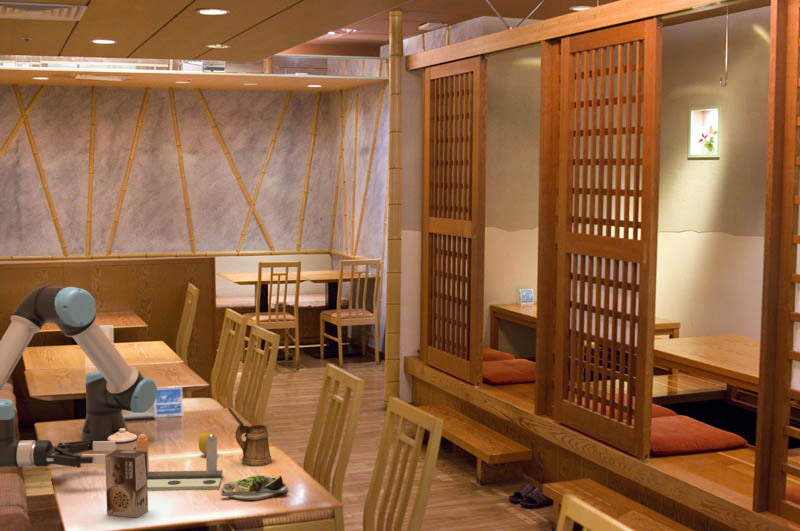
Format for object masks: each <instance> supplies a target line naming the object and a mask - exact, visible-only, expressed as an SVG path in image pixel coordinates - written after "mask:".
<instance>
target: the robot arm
mask: <svg viewBox="0 0 800 531" xmlns="http://www.w3.org/2000/svg"><path fill="white" fill-rule="evenodd" d="M96 305H97V304H96V300H95V298H94V297H93V296H92V294H91V293H90V292H89V291H88V290H85V289H83V288H79V287H75V286H58V285H49V284H48V285H47V284H46V285H42V286H41V285H40V286H39V287H38V286H37V287H36V288H34V289H33V290H31V291H30V292H28V294H27V295H26V296H24V297H23V299H22V300H21V301H20V302H19V303H18V305H17V306H16V307H15V309H14V311H13V312H12V314H11V316H10V321H11V322H10V324H9V325H8V328H7V329H6V331H5V333H4V334H3V336H2V338H1V339H0V393H1V392H2V390H3V388H4V386H5V385H6V383H7V381H8V380H9V379H10V377H11V375H12V373H13V371H14V369H15V367H16V366H17V364H18V362H19V360H20V359H21V357H22V356H23V354H24V352H25V351H26V349H27V347H28V346H29V344H30V342H31V340H32V338H33V337H34V335H35V334H37V333H40V332H41V330H42V328H43V327H44V325H46V324H53V325H56V326H57V327H58V329H59V330H60V332H61V333H62V334H63V335H64V336H65V337H70V338H72V339H73V340H74V341H75V342H76V344H77V345H78V346H79V347H80V349H81V350H82V352H83V354H85V356H86V357H87V358H88V359H89V361H90V362H91V363H92V365H93V366H94V367H95V368H96V369H97V370H94V371H90V372H88V373H87V375H86V377H85V399H86V400H85V403H86V417H85V419H84V422H83V425H82V428H81V439H82V440H78V441H77V440H76V441H69V442H58V444H57V445H56V446H53V443H52V441H51V440H49V439H45V440H44V439H39V440H33V439H30V440H29V439H28V440H27V439H26V440H24V439H23V440H16V434H15V433H16V432H15V431H16V427H15V422H16V421H15V420H16V418H15V415H16V413H15V406H14V402H13V400H11V399H9V398H0V468H14V467H16V468H18V467H19V468H20V467H21V468H22V467H23V468H24V469H28V467H35V466H36V467H37V468H38V467H39V468H41V467H49V466H50V465H59V466H66V467H72V468H77V469H78V468H82V465H105V456H106V453H87V454H85V453H83V452H89V451H93V452H108V451H115V450H116V441H107V439H108V437H109V436H111V435H114V434H115V433H117V432H119V429H121V428H125V429H126V431H127V432H129V431H128V429H129V428H128V426H127V422H126V421H125V418H124V415H123V411H127V412H132V413H141V414H142V413H146V412H147V411H149V410H150V409H151V408H152V407H153V405H154V404H155V402H156V399H157V395H158V387H157V383H156V381H154V380H153V379H151V378H150V377H144V376H143V375H142V373H141V372H140V370H139V369H138V368H137V367H136V366H134V365H129V364H128V362H127V361H126V359H125V358H124V357H123V355H122V354H121V353H120V351H119V350H118V349H117V348H116V346H115V345H114V344H113V343H112V341H111V340H110V339H109V336H107V334H106V333H105V332H104V330H103V329H102V327H101V326H100V324H99V323H98V322H97V308H96ZM79 453H83V454H81V455H79Z"/></svg>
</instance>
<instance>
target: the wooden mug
mask: <svg viewBox="0 0 800 531" xmlns="http://www.w3.org/2000/svg"><path fill="white" fill-rule="evenodd" d="M227 410H228V411H229V413H230V414H231V416H232V417H233V419H234V420H235V421H236V422H237V424H238V426H237V427H236V431H235V439H236V440H235V441H236V443H237V444H238V446H239V447H240V448H241V450H242V455H243V456H242V458H241V459H242V460H241V462H242V464H244V465H247V466H250V467H251V466H252V467H260V466H265V465H266V466H267V465H269V464H271V463H272V460H273V459H272V456H271V451H270V445H269V431H268V430H267V426H266V425H263V424H254V425H250V426H249V425H247V424H246V425H245V424H244V423H243V421H242V419H241V418H239V417H238V415H237V414H236V413H235V412H234V411H233V409H232V408H230V407H228V408H227ZM243 434H244V438H245V440H243V439H242V435H243Z"/></svg>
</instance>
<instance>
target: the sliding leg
mask: <svg viewBox="0 0 800 531" xmlns="http://www.w3.org/2000/svg"><path fill="white" fill-rule="evenodd" d="M137 437H138V439H137V451H145V452H147V473H148V472H150V470H149V469H150V468H149V467H150V465H149V464H150V463H149V462H150V461H149V460H150V458H149V437H147V435H146V434H145V433H140V434H138V436H137Z"/></svg>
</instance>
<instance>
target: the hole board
mask: <svg viewBox="0 0 800 531" xmlns="http://www.w3.org/2000/svg"><path fill="white" fill-rule="evenodd" d="M221 483H222V480H221V478H212V479H156V480H147V488H148V491H149V492H150V490H151V492H152V491H153V492H154V491H188V490H189V491H193V490H195V491H196V490H197V491H199V490H201V491H202V490H219V489H220V486H221Z"/></svg>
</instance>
